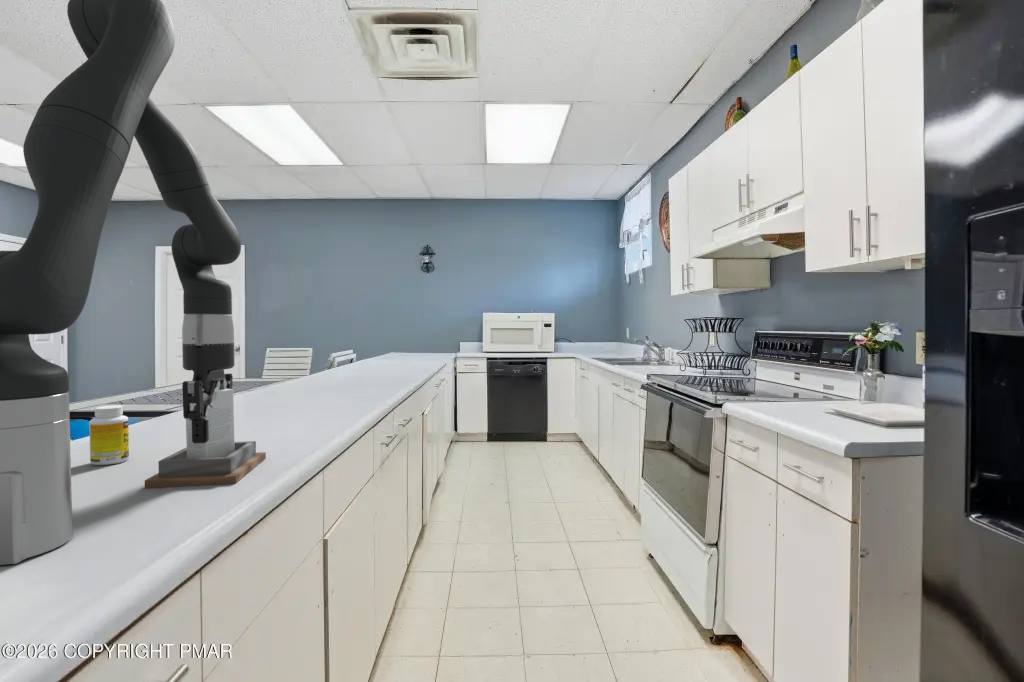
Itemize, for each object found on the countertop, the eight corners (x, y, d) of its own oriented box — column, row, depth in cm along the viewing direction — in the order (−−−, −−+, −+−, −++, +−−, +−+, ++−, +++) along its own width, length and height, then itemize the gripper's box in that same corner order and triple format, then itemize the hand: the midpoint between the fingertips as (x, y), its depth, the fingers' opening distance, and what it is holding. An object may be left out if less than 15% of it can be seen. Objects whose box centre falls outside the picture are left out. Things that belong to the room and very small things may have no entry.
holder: (235, 483, 78) (235, 460, 78) (144, 488, 76) (144, 464, 76) (265, 458, 93) (265, 439, 93) (190, 461, 91) (189, 441, 91)
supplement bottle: (130, 462, 90) (128, 407, 90) (90, 468, 87) (88, 410, 86) (128, 456, 94) (127, 403, 94) (90, 461, 91) (89, 406, 91)
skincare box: (216, 454, 88) (215, 387, 87) (235, 456, 87) (234, 388, 86) (185, 463, 82) (183, 392, 82) (204, 465, 81) (203, 392, 80)
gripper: (203, 340, 90) (204, 429, 91) (162, 342, 76) (164, 448, 76) (247, 340, 91) (248, 428, 92) (215, 342, 77) (216, 446, 78)
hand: (210, 437), depth 84 cm, fingers closed on skincare box, 7 cm apart
